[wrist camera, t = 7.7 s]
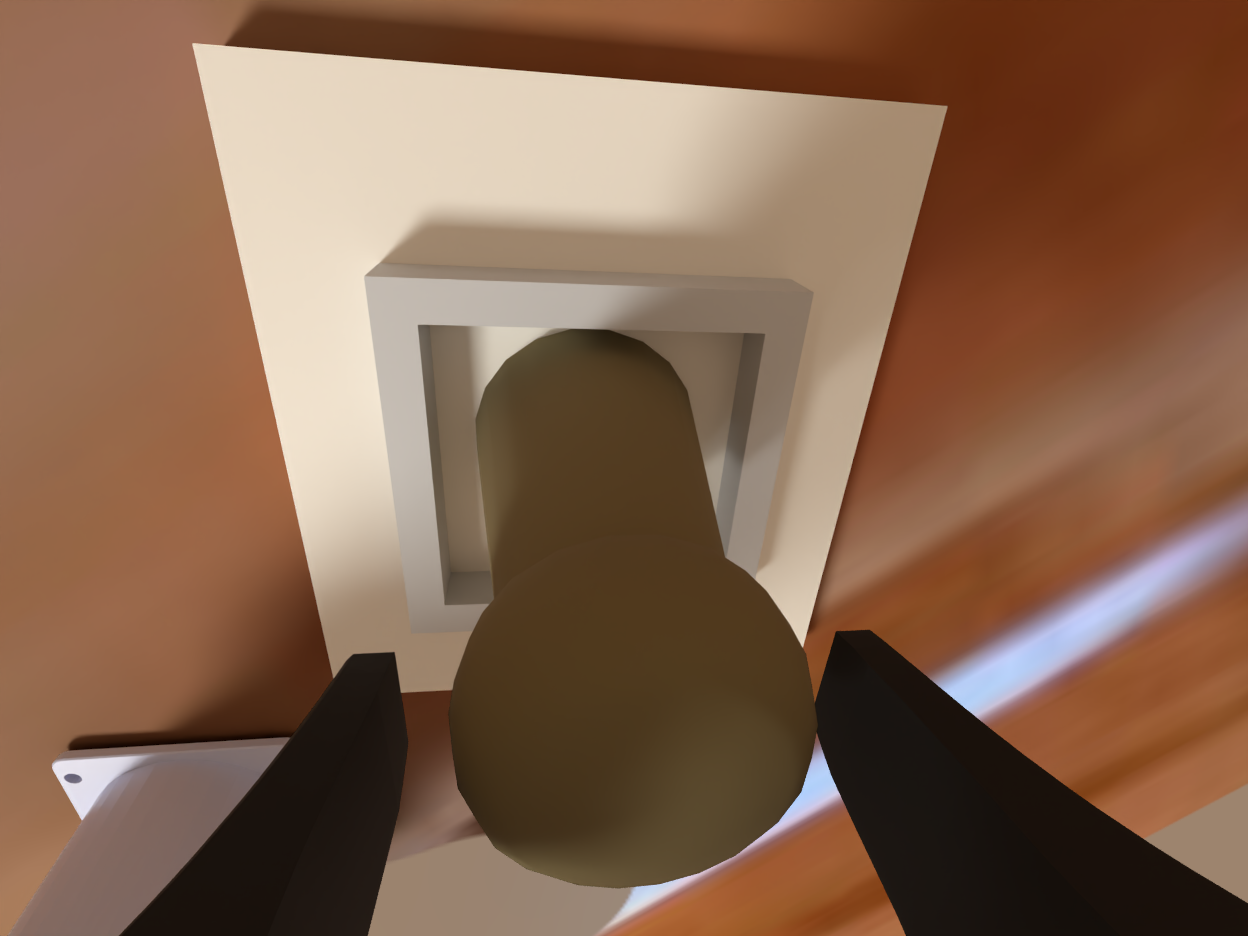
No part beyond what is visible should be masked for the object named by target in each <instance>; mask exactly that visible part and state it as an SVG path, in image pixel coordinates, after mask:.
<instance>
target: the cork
mask: <svg viewBox="0 0 1248 936" xmlns="http://www.w3.org/2000/svg"><path fill="white" fill-rule="evenodd" d="M475 422H476V440H477V454H478V463H479V472H480V481H481V490H482V499H483V508H484V516H485V525H486V534H487V543H488V552H489V561H490V570H491V579H492V588H493V597H494V600H493V601H492V602H491V603H490V604H489V605H488V606H487V608H486V609H485V610H484V611H483V612H482V614H481V616H480V618H479V620H478V622H477V624H476V626H475V628H474V630H473V632H472V634H471V636H470V638H469V640H468V643H467V646H466V648H465V651H464V654H463V657H462V659H461V662H460V665H459V668H458V670H457V673H456V676H455V679H454V683H453V689H452V695H451V701H450V707H449V713H448V715H449V725H450V734H451V744H452V753H453V760H454V766H455V773H456V780H457V786H458V790H459V791H460V793H461V795H462V796H463V798H464V800H465V801H466V803H467V805H468V806H469V808H470V810H471V811H472V813H473V815H474V817H475V818H476V820H477V821H478V823H479V824H480V826H481V827H482V829H483V830H484V832H485V833H486V835H487V836H488V838H489V840H490V841H491V842H492V844H493V846H494V847H495V848H496V849H497V850H499V851H501V852H502V853H503V854H505V855H506V856H508V857H509V858H511V859H513V860H514V861H515V862H517V863H518V864H520V865H521V866H523V867H524V868H526V869H528V870H532V871H534V872H538V873H541V874H544V875H547V876H550V877H554V878H557V879H560V880H563V881H566V882H570V883H573V884H576V885H583V886H595V887H607V888H627V887H637V886H647V885H657V884H662V883H666V882H669V881H673V880H676V879H680V878H683V877H687V876H691V875H694V874H698V873H700V872H703V871H705V870H707V869H709V868H711V867H713V866H715V865H717V864H719V863H721V862H723V861H725V860H727V859H729V858H732V857H734V856H736V855H737V854H738V853H740V852H741V851H742V850H743V849H745V848H746V847H747V846H749V845H750V844H751V843H753V842H754V841H755V840H756V839H758V838H759V837H760V836H762V835H763V834H764V833H765V832H767V831H768V830H769V829H770V828H772V827H773V826H774V825H775V824H777V823H778V822H779V820H780V819H781V818H782V816H783V815H784V814H785V813H786V811H787V810H788V809H789V807H790V806H791V805H792V803H793V802H794V801H795V799H796V798H797V797H798V796H799V794H800V793H801V791H802V788H803V785H804V782H805V778H806V775H807V772H808V769H809V765H810V762H811V759H812V754H813V748H814V743H815V738H816V732H817V727H818V723H817V716H816V709H815V703H814V696H813V689H812V684H811V678H810V673H809V668H808V662H807V657H806V653H805V651H804V649H803V648H802V646H801V644H800V642H799V640H798V638H797V636H796V635H795V633H794V631H793V629H792V627H791V625H790V624H789V622H788V621H787V619H786V618H785V617H784V615H783V614H782V612H781V611H780V609H779V608H778V606H777V605H776V604H775V602H774V601H773V599H772V598H771V596H770V595H769V593H768V592H767V591H766V590H765V589H764V588H763V587H762V586H761V585H760V584H759V583H758V582H757V581H756V580H755V579H754V578H753V577H752V576H751V575H750V574H749V573H748V572H747V571H745V570H744V569H742V568H741V567H739V566H738V565H736V564H735V563H733V562H732V561H730V560H729V559H727V558H725V554H724V550H723V545H722V541H721V536H720V532H719V528H718V523H717V519H716V514H715V510H714V506H713V501H712V497H711V492H710V488H709V484H708V479H707V475H706V470H705V466H704V461H703V457H702V453H701V448H700V444H699V439H698V435H697V431H696V426H695V422H694V417H693V413H692V409H691V404H690V400H689V395H688V391H687V389H686V387H685V386H684V384H683V382H682V381H681V379H680V378H679V376H678V375H677V373H676V371H675V370H674V368H673V367H672V365H671V364H670V362H668V361H667V360H666V359H665V358H663V357H662V356H661V355H660V354H658V353H657V352H656V351H654V350H653V349H652V348H651V347H649V346H648V345H647V344H645V343H644V342H643V341H640V340H637V339H634V338H631V337H629V336H626V335H623V334H620V333H617V332H614V331H612V330H604V329H569V330H566V331H562V332H559V333H556V334H552V335H549V336H545V337H542V338H539V339H536V340H534V341H533V342H531V343H530V344H528V345H527V346H525V347H524V348H522V349H521V350H520V351H518V352H517V353H515V354H514V355H512V356H511V357H509V358H508V359H506V360H505V362H504V363H503V364H502V366H501V367H500V368H499V370H498V371H497V372H496V374H495V375H494V376H493V378H492V379H491V380H490V382H489V383H488V384H487V386H486V387H485V389H484V393H483V396H482V399H481V403H480V406H479V409H478V412H477V416H476V419H475Z"/></svg>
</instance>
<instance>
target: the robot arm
mask: <svg viewBox="0 0 1248 936" xmlns="http://www.w3.org/2000/svg"><path fill="white" fill-rule="evenodd" d="M815 709H816V716H817V723H818V727H817V734H818V738H819V741H820V744H821V747H822V750H823V753H824V756H825V759H826V761H827V764H828V767H829V770H830V773H831V776H832V778H833V780H834V782H835V784H836V787H837V789H838V791H839V793H840V795H841V798H842V800H843V802H844V804H845V806H846V808H847V810H848V813H849V815H850V817H851V819H852V821H853V823H854V825H855V828H856V830H857V832H858V834H859V836H860V838H861V840H862V842H863V844H864V846H865V849H866V851H867V853H868V855H869V857H870V859H871V861H872V863H873V865H874V868H875V870H876V872H877V874H878V876H879V878H880V880H881V882H882V884H883V887H884V889H885V891H886V893H887V895H888V897H889V899H890V901H891V903H892V905H893V908H894V910H895V912H896V914H897V916H898V918H899V921H900V923H901V925H902V927H903V930H904V932H905V934H906V936H1248V903H1246V902H1245V901H1243V900H1242V899H1240V898H1238V897H1236V896H1235V895H1233V894H1232V893H1230V892H1228V891H1226V890H1225V889H1223V888H1221V887H1220V886H1218V885H1216V884H1215V883H1213V882H1211V881H1210V880H1208V879H1206V878H1205V877H1203V876H1201V875H1200V874H1198V873H1196V872H1194V871H1193V870H1191V869H1190V868H1188V867H1187V866H1185V865H1183V864H1181V863H1180V862H1179V861H1177V860H1175V859H1174V858H1172V857H1171V856H1169V855H1167V854H1166V853H1164V852H1163V851H1161V850H1159V849H1158V848H1156V847H1155V846H1153V845H1152V844H1150V843H1149V842H1147V841H1146V840H1144V839H1143V838H1141V837H1140V836H1138V835H1137V834H1135V833H1134V832H1132V831H1131V830H1129V829H1128V828H1126V827H1125V826H1123V825H1122V824H1120V823H1119V822H1117V821H1116V820H1114V819H1113V818H1111V817H1110V816H1108V815H1107V814H1105V813H1104V812H1102V811H1101V810H1099V809H1098V808H1096V807H1095V806H1093V805H1092V804H1091V803H1089V802H1088V801H1086V800H1085V799H1083V798H1082V797H1081V796H1079V795H1078V794H1076V793H1075V792H1073V791H1072V790H1071V789H1069V788H1068V787H1067V786H1065V785H1064V784H1062V783H1061V782H1060V781H1058V780H1057V779H1056V778H1054V777H1053V776H1052V775H1050V774H1049V773H1048V772H1046V771H1045V770H1044V769H1042V768H1041V767H1040V766H1038V765H1037V764H1036V763H1034V762H1033V761H1032V760H1030V759H1029V758H1027V757H1026V756H1025V755H1023V754H1022V753H1021V752H1020V751H1018V750H1017V749H1016V748H1014V747H1013V746H1012V745H1011V744H1009V743H1008V742H1007V741H1005V740H1004V739H1003V738H1002V737H1000V736H999V735H998V734H996V733H995V732H994V731H993V730H991V729H990V728H989V727H988V726H986V725H985V724H984V723H983V722H981V721H980V720H979V719H978V718H976V717H975V716H974V715H973V714H972V713H970V712H969V711H968V710H967V709H965V708H964V707H963V706H962V705H960V704H959V703H958V702H957V701H956V700H954V699H953V698H952V697H951V696H950V695H948V694H947V693H946V692H945V691H943V690H942V689H941V688H940V687H939V686H937V685H936V684H935V683H934V682H933V681H932V680H930V679H929V678H928V677H927V676H926V675H924V674H923V673H922V672H921V671H920V670H918V669H917V668H916V667H915V666H914V665H912V664H911V663H910V662H909V661H908V660H906V659H905V658H904V657H903V656H902V655H900V654H899V653H898V652H897V651H896V650H894V649H893V648H892V647H891V646H889V645H888V644H887V643H886V642H884V641H883V640H882V639H881V638H879V637H878V636H877V635H876V634H874V633H873V632H872V631H870V630H856V631H836V633H835V637H834V640H833V643H832V647H831V650H830V654H829V657H828V660H827V664H826V667H825V671H824V674H823V677H822V681H821V684H820V688H819V691H818V694H817V698H816V701H815ZM407 749H408V736H407V729H406V723H405V716H404V709H403V703H402V696H401V690H400V683H399V676H398V670H397V663H396V657H395V652H383V653H362V654H353V655H352V656H350V657H349V658H348V659H347V660H346V661H345V663H344V664H343V666H342V667H341V669H340V670H339V672H338V673H337V674H336V676H335V677H334V679H333V680H332V682H331V683H330V684H329V686H328V687H327V689H326V690H325V692H324V693H323V694H322V696H321V697H320V699H319V700H318V701H317V703H316V704H315V705H314V707H313V708H312V710H311V711H310V712H309V714H308V715H307V716H306V718H305V719H304V720H303V722H302V723H301V724H300V726H299V727H298V728H297V730H296V731H295V732H294V734H293V735H292V736H291V738H289V737H282V738H266V739H249V740H233V741H217V742H201V743H185V744H169V745H152V746H136V747H120V748H104V749H88V750H71V751H66V752H63V753H61V754H59V755H58V757H57V758H56V759H55V761H54V762H53V764H52V769H53V771H54V772H55V774H56V776H57V778H58V779H59V781H60V783H61V785H62V786H63V788H64V790H65V792H66V793H67V795H68V797H69V799H70V800H71V802H72V804H73V805H74V807H75V809H76V811H77V812H78V814H79V816H80V818H81V819H82V822H81V823H80V825H79V826H78V828H77V830H76V831H75V833H74V834H73V836H72V837H71V839H70V840H69V842H68V843H67V845H66V846H65V848H64V849H63V851H62V853H61V854H60V856H59V857H58V859H57V860H56V862H55V863H54V865H53V866H52V868H51V869H50V871H49V872H48V874H47V876H46V877H45V879H44V880H43V882H42V883H41V885H40V886H39V888H38V889H37V891H36V892H35V894H34V895H33V897H32V899H31V900H30V902H29V903H28V905H27V906H26V908H25V909H24V911H23V912H22V914H21V915H20V917H19V918H18V920H17V921H16V923H15V925H14V926H13V928H12V929H11V931H10V932H9V934H8V935H7V936H368V932H369V928H370V924H371V920H372V916H373V912H374V908H375V904H376V900H377V896H378V892H379V888H380V884H381V881H382V877H383V873H384V868H385V865H386V861H387V856H388V852H389V848H390V844H391V840H392V836H393V832H394V828H395V824H396V820H397V816H398V812H399V806H400V799H401V792H402V785H403V779H404V771H405V764H406V756H407Z"/></svg>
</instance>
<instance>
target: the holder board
mask: <svg viewBox="0 0 1248 936" xmlns="http://www.w3.org/2000/svg"><path fill="white" fill-rule="evenodd" d="M192 44H193V48H194V53H195V57H196V62H197V66H198V71H199V75H200V80H201V84H202V89H203V93H204V98H205V102H206V107H207V111H208V116H209V120H210V125H211V129H212V134H213V138H214V143H215V147H216V152H217V156H218V161H219V165H220V170H221V174H222V179H223V183H224V188H225V192H226V197H227V201H228V206H229V210H230V215H231V219H232V224H233V228H234V233H235V237H236V242H237V246H238V251H239V255H240V260H241V264H242V269H243V273H244V278H245V282H246V287H247V291H248V296H249V300H250V305H251V309H252V314H253V319H254V323H255V328H256V332H257V337H258V341H259V346H260V350H261V355H262V359H263V364H264V368H265V373H266V377H267V382H268V386H269V391H270V395H271V400H272V404H273V409H274V413H275V418H276V422H277V427H278V431H279V436H280V440H281V445H282V449H283V454H284V458H285V463H286V467H287V472H288V476H289V481H290V485H291V490H292V494H293V499H294V503H295V508H296V512H297V517H298V521H299V526H300V530H301V535H302V539H303V544H304V548H305V553H306V557H307V562H308V566H309V571H310V575H311V580H312V584H313V589H314V593H315V598H316V602H317V607H318V611H319V616H320V620H321V625H322V629H323V634H324V638H325V643H326V647H327V652H328V656H329V661H330V665H331V670H332V674H333V679H334V677H335V676H336V674H337V673H338V672H339V670H340V669H341V667H342V666H343V664H344V663H345V661H346V660H347V659H348V658H349V657H350V656H352V655H353V654H362V653H383V652H395V657H396V663H397V670H398V676H399V683H400V690H401V693H405V692H424V691H443V690H452V689H453V683H454V679H455V676H456V673H457V670H458V668H459V665H460V662H461V659H462V657H463V654H464V651H465V648H466V646H467V643H468V640H469V638H470V636H471V634H472V632H473V630H474V628H475V626H476V624H477V622H478V620H479V618H480V616H481V614H482V612H483V611H484V610H485V609H486V608H487V606H488V605H489V604H490V603H491V602H492V601H493V600H494V597H493V588H492V579H491V570H490V561H489V552H488V543H487V534H486V525H485V516H484V508H483V499H482V490H481V481H480V472H479V463H478V454H477V440H476V422H475V419H476V416H477V412H478V409H479V406H480V403H481V399H482V396H483V393H484V389H485V387H486V386H487V384H488V383H489V382H490V380H491V379H492V378H493V376H494V375H495V374H496V372H497V371H498V370H499V368H500V367H501V366H502V364H503V363H504V362H505V360H506V359H508V358H509V357H511V356H512V355H514V354H515V353H517V352H518V351H520V350H521V349H522V348H524V347H525V346H527V345H528V344H530V343H531V342H533V341H534V340H536V339H539V338H542V337H545V336H549V335H552V334H556V333H559V332H562V331H566V330H569V329H604V330H612V331H614V332H617V333H620V334H623V335H626V336H629V337H631V338H634V339H637V340H640V341H643V342H644V343H645V344H647V345H648V346H649V347H651V348H652V349H653V350H654V351H656V352H657V353H658V354H660V355H661V356H662V357H663V358H665V359H666V360H667V361H668V362H670V364H671V365H672V367H673V368H674V370H675V371H676V373H677V375H678V376H679V378H680V379H681V381H682V382H683V384H684V386H685V387H686V389H687V391H688V395H689V400H690V404H691V409H692V413H693V417H694V422H695V426H696V431H697V435H698V439H699V444H700V448H701V453H702V457H703V461H704V466H705V470H706V475H707V479H708V484H709V488H710V492H711V497H712V501H713V506H714V510H715V514H716V519H717V523H718V528H719V532H720V536H721V541H722V545H723V550H724V554H725V558H727V559H729V560H730V561H732V562H733V563H735V564H736V565H738V566H739V567H741V568H742V569H744V570H745V571H747V572H748V573H749V574H750V575H751V576H752V577H753V578H754V579H755V580H756V581H757V582H758V583H759V584H760V585H761V586H762V587H763V588H764V589H765V590H766V591H767V592H768V593H769V595H770V596H771V598H772V599H773V601H774V602H775V604H776V605H777V606H778V608H779V609H780V611H781V612H782V614H783V615H784V617H785V618H786V619H787V621H788V622H789V624H790V625H791V627H792V629H793V631H794V633H795V635H796V636H797V638H798V640H799V642H800V644H801V646H802V648H803V645H804V641H805V637H806V634H807V630H808V626H809V622H810V619H811V615H812V611H813V607H814V604H815V600H816V596H817V593H818V589H819V585H820V581H821V578H822V574H823V570H824V566H825V563H826V559H827V555H828V551H829V548H830V544H831V540H832V536H833V533H834V529H835V525H836V522H837V518H838V514H839V510H840V507H841V503H842V499H843V495H844V492H845V488H846V484H847V480H848V477H849V473H850V469H851V466H852V462H853V458H854V454H855V451H856V447H857V443H858V439H859V436H860V432H861V428H862V424H863V421H864V417H865V413H866V409H867V406H868V402H869V398H870V395H871V391H872V387H873V383H874V380H875V376H876V372H877V368H878V365H879V361H880V357H881V353H882V350H883V346H884V342H885V338H886V335H887V331H888V327H889V324H890V320H891V316H892V312H893V309H894V305H895V301H896V297H897V294H898V290H899V286H900V282H901V279H902V275H903V271H904V268H905V264H906V260H907V256H908V253H909V249H910V245H911V241H912V238H913V234H914V230H915V226H916V223H917V219H918V215H919V211H920V208H921V204H922V200H923V197H924V193H925V189H926V185H927V182H928V178H929V174H930V170H931V167H932V163H933V159H934V155H935V152H936V148H937V144H938V141H939V137H940V133H941V129H942V126H943V122H944V118H945V114H946V111H947V107H948V106H940V105H928V104H916V103H904V102H892V101H880V100H868V99H856V98H844V97H832V96H820V95H808V94H796V93H784V92H772V91H760V90H748V89H736V88H724V87H712V86H700V85H688V84H676V83H664V82H652V81H640V80H628V79H616V78H604V77H592V76H580V75H568V74H556V73H543V72H531V71H519V70H507V69H495V68H483V67H471V66H459V65H447V64H435V63H423V62H411V61H399V60H387V59H375V58H363V57H351V56H339V55H327V54H315V53H303V52H291V51H279V50H267V49H255V48H243V47H231V46H219V45H207V44H195V43H192Z"/></svg>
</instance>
